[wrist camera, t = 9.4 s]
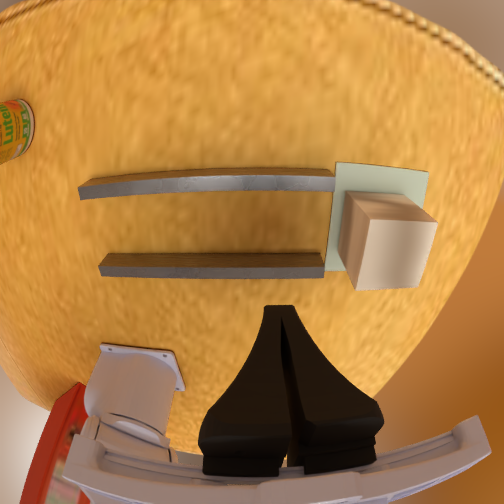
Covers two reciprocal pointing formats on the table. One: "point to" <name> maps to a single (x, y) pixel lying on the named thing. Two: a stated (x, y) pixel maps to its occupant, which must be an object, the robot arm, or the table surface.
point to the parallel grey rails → (212, 263)
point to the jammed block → (384, 240)
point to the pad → (369, 181)
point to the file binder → (57, 453)
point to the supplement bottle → (15, 129)
